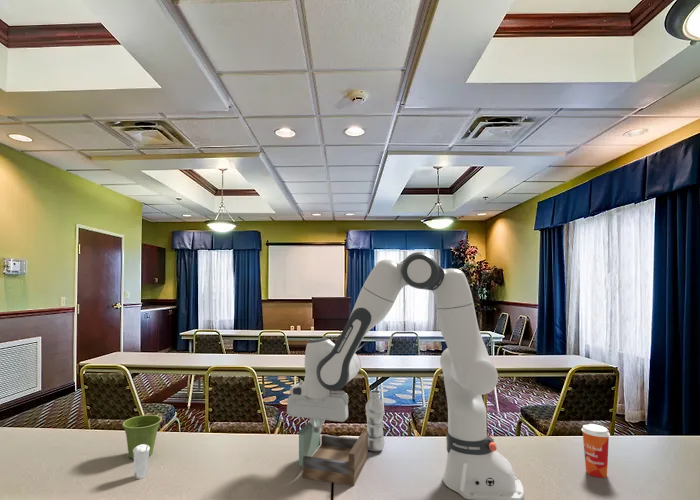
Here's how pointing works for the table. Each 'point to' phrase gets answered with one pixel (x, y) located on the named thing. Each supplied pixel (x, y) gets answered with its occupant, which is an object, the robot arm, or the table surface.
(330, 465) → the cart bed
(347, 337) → the robot arm
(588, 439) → the paper cup
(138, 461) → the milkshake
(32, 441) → the table surface
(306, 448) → the panel
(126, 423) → the plant pot
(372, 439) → the plastic bottle
